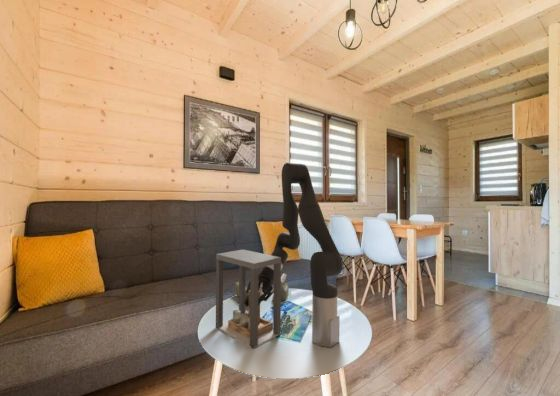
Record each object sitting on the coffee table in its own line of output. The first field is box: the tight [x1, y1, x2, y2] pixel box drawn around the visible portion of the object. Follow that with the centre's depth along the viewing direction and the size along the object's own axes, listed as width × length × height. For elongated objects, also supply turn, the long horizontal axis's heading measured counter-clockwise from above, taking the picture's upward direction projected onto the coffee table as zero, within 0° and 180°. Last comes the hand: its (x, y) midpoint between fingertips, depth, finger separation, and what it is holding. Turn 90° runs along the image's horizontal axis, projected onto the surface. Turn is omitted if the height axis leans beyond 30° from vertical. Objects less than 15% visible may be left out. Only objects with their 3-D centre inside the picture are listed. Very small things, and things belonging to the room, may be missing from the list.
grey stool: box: [215, 249, 282, 349], centre depth 110 cm, size 23×14×30 cm, turn 48°
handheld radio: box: [234, 281, 250, 299], centre depth 141 cm, size 7×3×25 cm
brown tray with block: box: [228, 291, 273, 338], centre depth 111 cm, size 14×11×14 cm
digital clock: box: [272, 273, 289, 301], centre depth 148 cm, size 16×9×11 cm, turn 159°
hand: (249, 306), depth 111 cm, fingers closed on brown tray with block, 4 cm apart
